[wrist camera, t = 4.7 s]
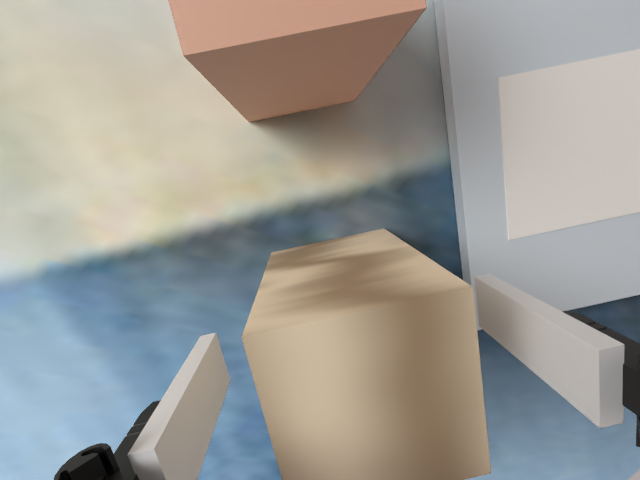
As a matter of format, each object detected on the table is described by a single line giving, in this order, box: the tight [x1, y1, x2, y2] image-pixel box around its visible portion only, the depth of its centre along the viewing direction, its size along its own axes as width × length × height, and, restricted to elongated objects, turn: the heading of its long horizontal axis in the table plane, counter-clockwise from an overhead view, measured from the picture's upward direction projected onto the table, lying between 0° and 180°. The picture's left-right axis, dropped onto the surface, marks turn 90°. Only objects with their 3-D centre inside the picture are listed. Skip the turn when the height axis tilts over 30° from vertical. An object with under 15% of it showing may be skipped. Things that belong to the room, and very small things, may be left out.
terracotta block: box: [169, 0, 427, 122], centre depth 12 cm, size 6×6×10 cm
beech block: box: [242, 229, 491, 480], centre depth 15 cm, size 7×7×10 cm
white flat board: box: [434, 0, 640, 330], centre depth 18 cm, size 14×20×1 cm
